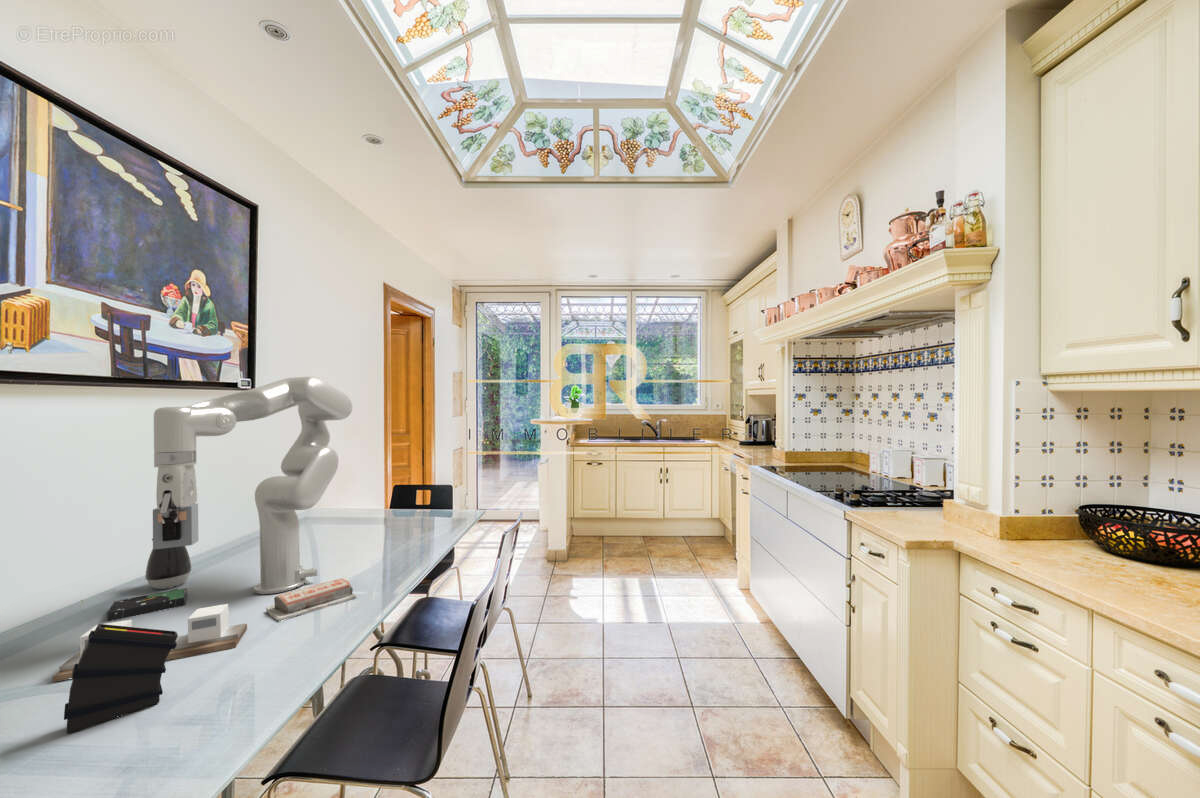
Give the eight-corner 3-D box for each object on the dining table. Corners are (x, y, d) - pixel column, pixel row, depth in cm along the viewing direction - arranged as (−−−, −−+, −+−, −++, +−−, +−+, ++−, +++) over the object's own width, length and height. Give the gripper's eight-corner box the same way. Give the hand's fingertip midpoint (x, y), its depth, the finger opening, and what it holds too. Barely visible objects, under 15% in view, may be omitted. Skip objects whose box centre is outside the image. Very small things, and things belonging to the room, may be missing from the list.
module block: (198, 540, 117) (198, 503, 117) (191, 545, 113) (191, 506, 113) (161, 545, 114) (160, 506, 114) (152, 549, 110) (152, 509, 110)
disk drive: (106, 624, 119) (186, 606, 128) (106, 613, 119) (186, 596, 128) (113, 612, 127) (187, 596, 136) (113, 601, 127) (187, 586, 136)
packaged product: (341, 574, 135) (356, 581, 129) (341, 592, 135) (356, 600, 128) (265, 594, 121) (278, 603, 115) (265, 613, 121) (278, 624, 115)
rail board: (247, 628, 112) (246, 620, 112) (235, 647, 103) (235, 637, 103) (82, 658, 100) (82, 649, 100) (52, 682, 91) (52, 671, 91)
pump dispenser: (171, 580, 150) (170, 530, 150) (200, 580, 148) (199, 530, 149) (135, 592, 140) (134, 539, 140) (166, 592, 138) (165, 539, 139)
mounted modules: (228, 626, 109) (228, 603, 109) (220, 637, 103) (219, 614, 103) (96, 649, 99) (96, 625, 100) (79, 663, 94) (79, 637, 94)
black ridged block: (35, 725, 75) (95, 622, 80) (142, 725, 83) (189, 632, 89) (34, 736, 72) (95, 629, 77) (143, 734, 81) (192, 638, 86)
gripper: (182, 461, 108) (183, 543, 107) (207, 456, 123) (208, 528, 123) (138, 463, 105) (138, 548, 104) (169, 458, 120) (170, 532, 120)
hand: (176, 536), depth 113 cm, fingers closed on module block, 4 cm apart
